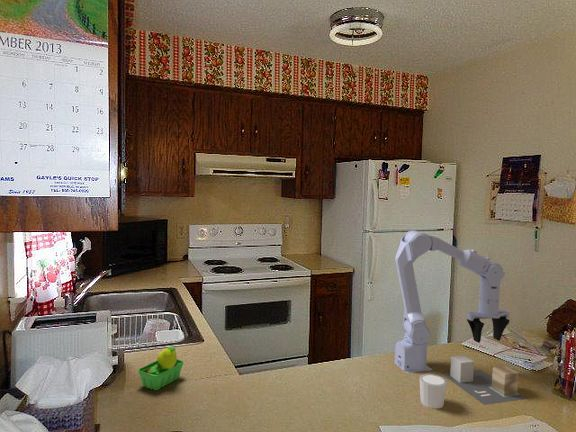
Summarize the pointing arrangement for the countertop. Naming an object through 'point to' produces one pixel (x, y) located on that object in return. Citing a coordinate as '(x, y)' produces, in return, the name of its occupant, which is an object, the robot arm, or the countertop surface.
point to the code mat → (484, 389)
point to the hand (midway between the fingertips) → (486, 340)
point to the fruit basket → (161, 370)
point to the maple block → (505, 380)
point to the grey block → (462, 369)
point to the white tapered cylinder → (432, 390)
